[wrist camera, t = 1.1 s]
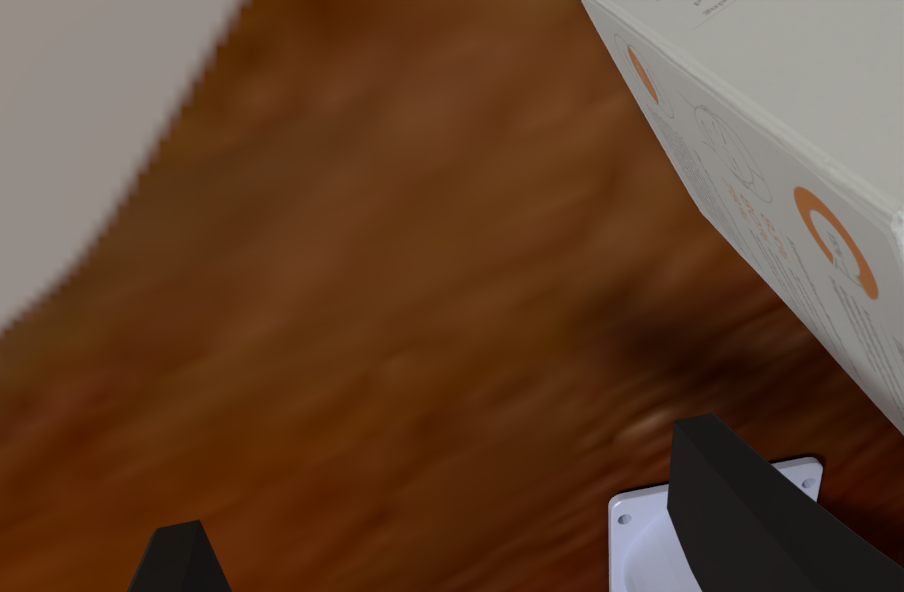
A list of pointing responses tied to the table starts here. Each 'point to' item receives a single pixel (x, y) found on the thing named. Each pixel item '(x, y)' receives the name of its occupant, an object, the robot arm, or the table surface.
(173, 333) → the table surface
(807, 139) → the small box
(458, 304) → the table surface
